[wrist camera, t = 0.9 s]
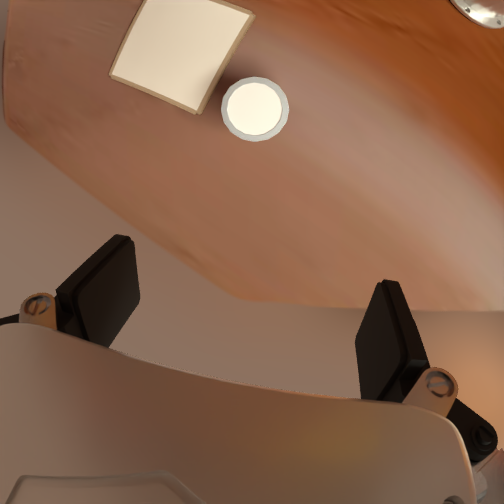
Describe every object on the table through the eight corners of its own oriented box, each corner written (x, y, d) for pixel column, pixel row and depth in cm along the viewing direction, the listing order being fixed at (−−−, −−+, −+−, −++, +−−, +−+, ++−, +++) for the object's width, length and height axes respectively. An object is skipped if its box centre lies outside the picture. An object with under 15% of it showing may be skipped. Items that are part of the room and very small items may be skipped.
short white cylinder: (278, 142, 36) (273, 152, 30) (226, 122, 36) (211, 127, 30) (299, 93, 33) (299, 91, 27) (246, 72, 33) (234, 67, 27)
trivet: (156, -17, 27) (154, -19, 26) (257, 14, 29) (256, 13, 28) (110, 76, 34) (107, 76, 34) (200, 116, 36) (198, 116, 35)
